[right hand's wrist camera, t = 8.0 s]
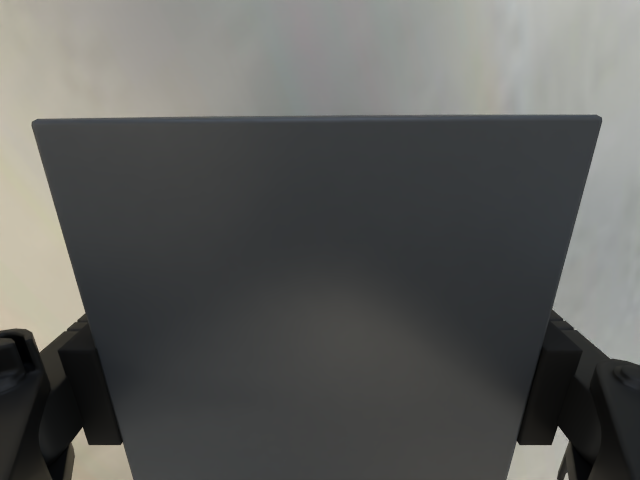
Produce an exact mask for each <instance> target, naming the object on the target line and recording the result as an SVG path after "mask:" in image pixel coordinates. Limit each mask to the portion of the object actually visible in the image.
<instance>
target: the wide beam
mask: <svg viewBox="0 0 640 480" xmlns="http://www.w3.org/2000/svg"><path fill="white" fill-rule="evenodd" d="M601 123H602V117H600V116H598V115H356V116H225V117H140V118H72V119H37V120H35V121H33V122H32V129H33V132H34V135H35V139H36V142H37V146H38V149H39V153H40V156H41V160H42V163H43V167H44V170H45V174H46V177H47V181H48V184H49V188H50V191H51V195H52V198H53V201H54V205H55V208H56V212H57V215H58V219H59V222H60V226H61V229H62V233H63V236H64V240H65V243H66V247H67V250H68V254H69V257H70V260H71V264H72V267H73V271H74V274H75V278H76V281H77V285H78V288H79V292H80V295H81V299H82V302H83V306H84V309H85V313H86V316H87V320H88V323H89V326H90V330H91V333H92V337H93V340H94V344H95V347H96V350H97V354H98V357H99V361H100V364H101V368H102V371H103V375H104V378H105V382H106V385H107V389H108V392H109V396H110V399H111V403H112V406H113V410H114V413H115V417H116V420H117V424H118V427H119V431H120V434H121V438H122V441H123V445H124V448H125V451H126V455H127V458H128V462H129V465H130V469H131V472H132V476H133V479H134V480H506V479H507V475H508V471H509V468H510V464H511V460H512V457H513V453H514V449H515V445H516V442H517V438H518V434H519V430H520V427H521V423H522V419H523V415H524V412H525V408H526V404H527V400H528V397H529V393H530V389H531V385H532V382H533V378H534V374H535V370H536V367H537V363H538V359H539V355H540V352H541V348H542V344H543V340H544V337H545V333H546V329H547V326H548V322H549V318H550V314H551V311H552V307H553V303H554V299H555V296H556V292H557V288H558V284H559V281H560V277H561V273H562V269H563V266H564V262H565V258H566V254H567V251H568V247H569V243H570V239H571V236H572V232H573V228H574V224H575V221H576V217H577V213H578V210H579V206H580V202H581V198H582V195H583V191H584V187H585V183H586V180H587V176H588V172H589V168H590V165H591V161H592V157H593V153H594V150H595V146H596V142H597V138H598V135H599V131H600V127H601Z"/></svg>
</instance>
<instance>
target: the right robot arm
mask: <svg viewBox="0 0 640 480" xmlns="http://www.w3.org/2000/svg"><path fill="white" fill-rule="evenodd" d="M558 426H559V427H560V429H561V430H562V431H563V433H564V434H565V435H566V437H567V438H568V439H569V443H568V446H567V449H566V451H565V454H564V457H563V460H562V463H561V465H560V468H559V471H558V477H557V479H558V480H564V477H565V474H566V473H567V472H568V477H569V480H640V365H637V364H634V363H631V362H628V361H623V360H617V359H610V358H609V357H607V356H606V355H605V354H604V353H603V352H602V351H600V350H599V349H598V348H597V347H596V346H594V345H593V344H592V343H591V342H590V341H589V340H587V339H586V338H585V337H584V336H583V335H581V334H580V333H579V332H578V331H577V330H574V328H573V327H572V326H571V325H570V324H568V323H567V322H566V321H563V318H561V317H560V316H559V315H558V314H557V313H556V312H554V311H553V310H552V311H551V314H550V318H549V322H548V326H547V329H546V333H545V337H544V340H543V344H542V348H541V352H540V355H539V359H538V363H537V367H536V370H535V374H534V378H533V382H532V385H531V389H530V393H529V397H528V400H527V404H526V408H525V412H524V415H523V419H522V423H521V427H520V430H519V434H518V438H517V442H518V443H519V445H552V442H553V439H554V436H555V433H556V430H557V427H558ZM82 427H83V429H84V432H85V435H86V438H87V441H88V444H89V445H121V444H122V442H123V441H122V438H121V434H120V431H119V427H118V424H117V420H116V417H115V413H114V410H113V406H112V403H111V399H110V396H109V392H108V389H107V385H106V382H105V378H104V375H103V371H102V368H101V364H100V361H99V357H98V354H97V350H96V347H95V344H94V340H93V337H92V333H91V330H90V326H89V323H88V320H87V316H86V313H85V314H84V315H83V316H82V317H81V318H80V319H78V322H75V323H74V324H73V325H71V326H70V327H69V328H68V329H67V331H64V332H63V333H62V334H61V335H60V336H58V337H57V338H56V339H55V340H54V341H53V342H51V343H50V344H49V345H48V346H47V347H46V348H44V349H43V350H42V351H41V352H40V353H39V351H38V348H37V345H36V342H35V339H34V337H33V334H32V332H30V331H28V330H26V329H9V330H2V331H0V480H71V478H72V471H73V465H74V458H75V455H74V449H73V446H72V443H71V442H72V440H73V439H74V438H75V436H76V435H77V434H78V432H79V431H80V430H81V428H82Z"/></svg>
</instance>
